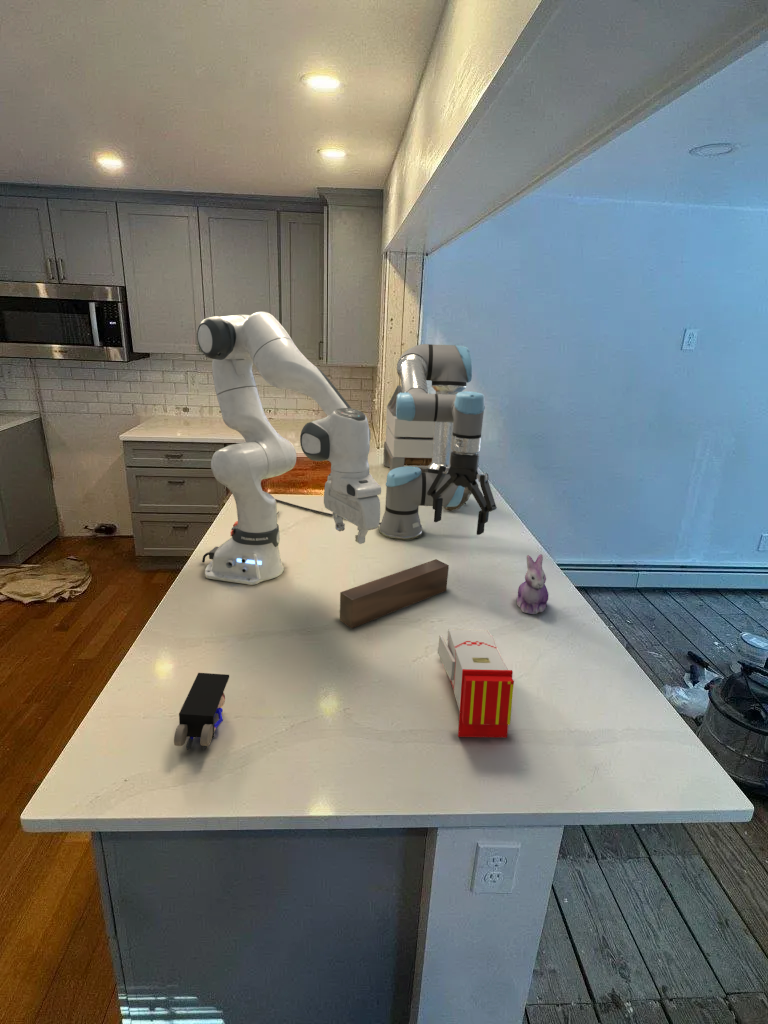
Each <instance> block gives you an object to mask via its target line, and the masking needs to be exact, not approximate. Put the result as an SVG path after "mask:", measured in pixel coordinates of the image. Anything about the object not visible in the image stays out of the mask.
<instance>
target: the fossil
mask: <svg viewBox="0 0 768 1024" xmlns="http://www.w3.org/2000/svg"><path fill="white" fill-rule="evenodd" d="M472 486H473V485H472ZM471 495H473V494H472V493H471V491H470V490H469V489H468V488H467V487H466V488H465V487H464V493H463V497H462V500H461V502H460V504H459V505H458V506H455V507H444V510H445V511H447V512H452V511H456V510H458V509H460V508H461V507H462V506H463V505H467V503H466V502H468V500H469V498H470V496H471Z"/></svg>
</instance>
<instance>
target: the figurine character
mask: <svg viewBox="0 0 768 1024" xmlns="http://www.w3.org/2000/svg"><path fill="white" fill-rule="evenodd" d="M229 679H230V674H227V673H224V674H223V673H208V672H197V675H196V676H195V679H194V681H193V683H192V685H191V687H190V688H189V689H190V690H189V691H188V694H187V696H186V699H184V702H183V704H182V706H181V708H180V711H179V713H178V722H179V723H178V724H177V726H176V728H175V731H174V737H173V745H174V746H175V747H184V746H185V743H186V740H187V738H188V740H187V743H186V746H185V748H186V750H190V749H191V747H192V745H193V742H194V739H195V738H197V739H200V740H199V741H200V742H199V743H200V746H201V747H202V748H201V749H202V750H203V751H204V750H206V749H207V748H208V747H209V746H210V745H211V742H212V739H214V738H215V731H216V729H217V728H218V727H219V726H220V725H221V723H222V722H223V721H224V718H223V715H222V713H223V707H224V705H225V703H226V695H225V689H226V687H227V684H228V682H229ZM216 714H217V718H218V720H217V721H216V722H215V717H216Z"/></svg>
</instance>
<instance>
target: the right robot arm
mask: <svg viewBox="0 0 768 1024" xmlns="http://www.w3.org/2000/svg"><path fill="white" fill-rule="evenodd" d="M396 372H397V376H398V378H399V379H400V384H401V385H400V386H401V387H402V393H399V394H398V395H397V401H396V417H397V419H399V420H407V421H431V422H434V433H433V452H432V463H431V464H430V465H428V466H426V472H424V471H423V472H422V469H421V468H420V467H419V466H407V465H404V467H398V468H395V469H392V470H391V471H390V470H389V471H388V473H387V475H386V482H385V487H386V488H385V489H386V490H385V504H384V505H385V507H384V508H385V509H384V513H383V515H382V519H381V521H380V523H379V526H378V533H379V534H380V535H381V536H382V537H385V538H387V539H389V540H395V541H410V540H415V539H418V538H420V537H421V536H422V535H423V525H422V524H421V518H420V515H419V507H432V510H434V512H433V513H434V514H433V523H438V522H441V521H442V514H443V508H445V507H455V506H458V505H459V504H460V502H461V500H462V497H463V493H464V487H465V488H466V487H467V488H468V489H469V490H470V491H471V493H472V494H471V495H472V496H473V497H474V500H475V501H476V503H477V505H478V507H479V508H480V510H479V511H478V516H477V525H476V536H480V535H482V534H484V532H485V525H486V523H488V522H489V514H490V512H491V513H492V512H493V511H495V510H497V507H498V506H497V503H496V501H495V498H494V495H493V492H492V488H491V485H490V483H489V474H488V473H487V472H486V473H479V472H478V469H479V464H480V463H479V462H480V454H479V453H480V451H481V443H482V431H483V423H484V413H485V409H486V405H485V402H486V401H485V399H486V396H485V394H484V393H481V392H478V391H469V390H468V391H465V389H466V388H467V383H471V382H472V379H473V359H472V354H471V350H470V349H469V348H468V347H467V346H464V345H457V344H432V343H431V344H430V343H429V344H428V343H421V344H416V345H414V346H412V347H410V348H408V349H407V350H406V351H404V352H403V353H402V354H401V355H400V357H399V358H398V360H397V364H396ZM427 381H430V382H431V388H432V389H433V390H434V391H435V393H429V388H428V384H427ZM478 482H479V484H478ZM472 485H473V486H472ZM479 485H480V487H479ZM274 499H275V500H276V502H278V503H281V504H284V505H287V506H291V507H294V508H298V509H302V510H305V511H309V512H313V513H316V514H317V513H318V514H321V515H325V516H330V517H333V513H329V512H324V511H321V510H316V509H312V508H308V507H305V506H301V505H297V504H293V503H290V502H287V501H283V500H280V499H276V498H274ZM342 519H343V520H345V519H344V518H342Z"/></svg>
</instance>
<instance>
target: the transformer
mask: <svg viewBox="0 0 768 1024" xmlns="http://www.w3.org/2000/svg"><path fill="white" fill-rule="evenodd" d="M399 393H402V385H399V384H398V385H397V386H396V388H395V390H394V392H393V394H392V395H391V398H390V400H389V402H388V404H387V405H386V413H385V414H386V415H385V423H386V428H385V438H384V442H383V466H384V467H388V468H389V472H390V471H391V470H392V469H395V468H398V467H405V466H413V467H428V466H429V465H430V464H431V463H432V452H433V433H434V422H431V421H407V420H399V419H397V417H396V401H397V395H398V394H399Z"/></svg>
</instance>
